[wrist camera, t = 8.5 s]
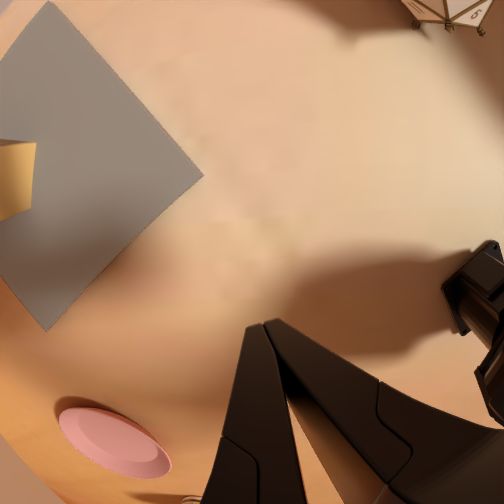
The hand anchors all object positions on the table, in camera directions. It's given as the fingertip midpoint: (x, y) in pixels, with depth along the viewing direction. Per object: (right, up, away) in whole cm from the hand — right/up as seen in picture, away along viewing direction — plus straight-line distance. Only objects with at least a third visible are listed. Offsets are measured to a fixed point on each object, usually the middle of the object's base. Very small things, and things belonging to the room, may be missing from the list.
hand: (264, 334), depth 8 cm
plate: (-16, -20, +21) cm, 33 cm away
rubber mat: (-17, +8, +11) cm, 22 cm away
